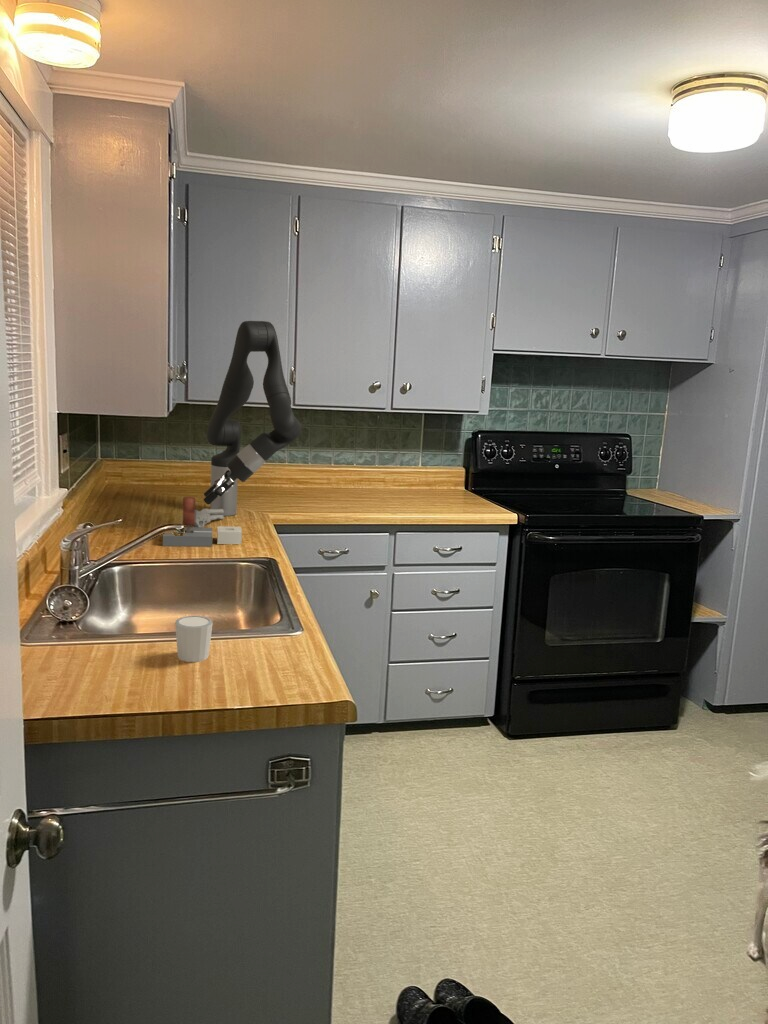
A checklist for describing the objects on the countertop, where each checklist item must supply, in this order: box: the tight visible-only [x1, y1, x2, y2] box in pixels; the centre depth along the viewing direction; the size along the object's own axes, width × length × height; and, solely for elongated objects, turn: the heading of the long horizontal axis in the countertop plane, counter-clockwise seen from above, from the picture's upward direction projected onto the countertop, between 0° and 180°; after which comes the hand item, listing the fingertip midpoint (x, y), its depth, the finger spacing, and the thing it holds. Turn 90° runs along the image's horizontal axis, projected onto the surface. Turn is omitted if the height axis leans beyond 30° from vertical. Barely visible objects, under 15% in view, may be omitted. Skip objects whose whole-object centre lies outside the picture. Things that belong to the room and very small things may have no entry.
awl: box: [182, 496, 196, 533], centre depth 229 cm, size 3×3×13 cm
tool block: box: [216, 525, 243, 546], centre depth 232 cm, size 7×7×4 cm
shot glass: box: [174, 615, 214, 663], centre depth 145 cm, size 7×7×7 cm
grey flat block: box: [162, 526, 214, 548], centre depth 230 cm, size 12×14×3 cm
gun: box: [192, 508, 225, 527], centre depth 249 cm, size 2×30×8 cm, turn 175°
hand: (205, 499), depth 228 cm, fingers open, 8 cm apart
